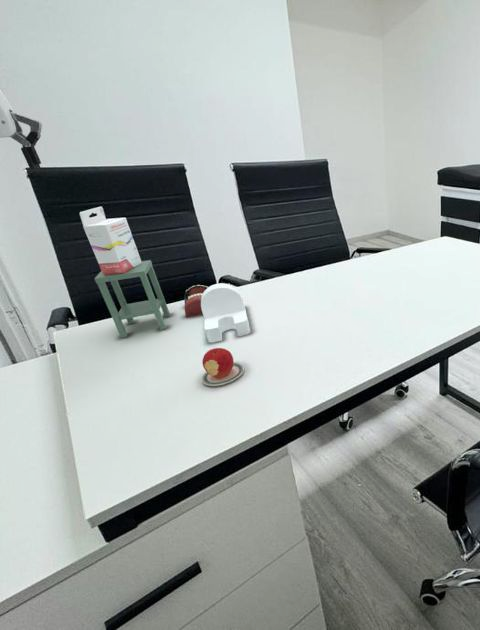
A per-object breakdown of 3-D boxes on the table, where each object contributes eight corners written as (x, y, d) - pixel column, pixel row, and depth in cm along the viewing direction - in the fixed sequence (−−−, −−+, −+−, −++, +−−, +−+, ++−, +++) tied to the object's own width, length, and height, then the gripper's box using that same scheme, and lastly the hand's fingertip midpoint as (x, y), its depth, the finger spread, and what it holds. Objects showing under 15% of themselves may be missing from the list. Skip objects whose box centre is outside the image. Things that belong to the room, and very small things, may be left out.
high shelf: (120, 338, 97) (94, 278, 90) (128, 322, 105) (105, 266, 98) (166, 329, 100) (144, 271, 93) (170, 314, 109) (150, 260, 102)
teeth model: (178, 298, 102) (180, 284, 112) (185, 319, 105) (186, 304, 115) (213, 292, 106) (212, 279, 116) (219, 313, 108) (217, 299, 118)
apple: (248, 377, 79) (240, 350, 76) (205, 392, 75) (195, 364, 72) (239, 360, 85) (231, 335, 82) (199, 374, 81) (189, 347, 78)
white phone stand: (208, 343, 92) (195, 302, 88) (208, 315, 107) (196, 278, 102) (251, 333, 96) (240, 293, 91) (245, 307, 111) (235, 271, 106)
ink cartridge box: (124, 273, 92) (99, 211, 86) (102, 275, 92) (75, 212, 85) (143, 262, 100) (121, 204, 93) (123, 264, 99) (100, 205, 93)
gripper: (-130, 65, 62) (-67, 176, 70) (7, 66, 69) (52, 168, 76) (-98, 71, 69) (-43, 173, 76) (25, 71, 75) (65, 165, 82)
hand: (4, 170), depth 76 cm, fingers open, 9 cm apart
